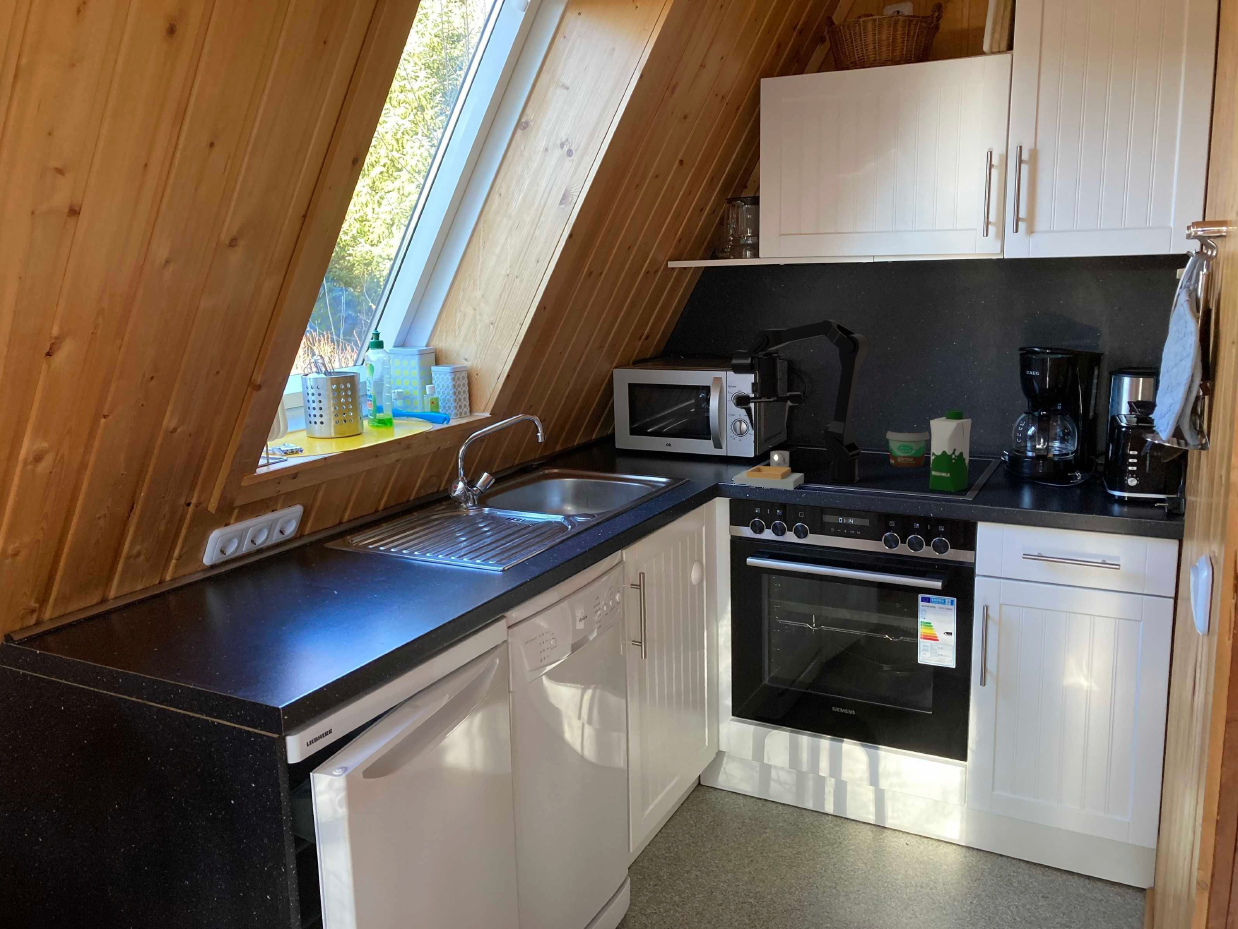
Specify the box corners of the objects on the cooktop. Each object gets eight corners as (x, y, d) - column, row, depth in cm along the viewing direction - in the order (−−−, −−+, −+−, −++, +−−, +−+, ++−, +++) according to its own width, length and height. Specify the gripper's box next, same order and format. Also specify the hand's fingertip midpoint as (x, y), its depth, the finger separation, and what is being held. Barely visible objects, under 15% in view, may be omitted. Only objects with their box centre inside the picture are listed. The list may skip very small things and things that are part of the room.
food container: (886, 467, 290) (887, 433, 289) (885, 464, 296) (886, 430, 294) (931, 468, 288) (932, 433, 286) (928, 464, 294) (929, 430, 292)
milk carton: (972, 487, 260) (975, 411, 257) (955, 493, 254) (958, 414, 250) (940, 483, 266) (943, 408, 263) (923, 489, 260) (926, 412, 256)
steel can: (791, 471, 287) (791, 451, 286) (785, 475, 283) (786, 454, 282) (773, 470, 290) (773, 450, 289) (768, 474, 285) (768, 453, 284)
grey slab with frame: (803, 482, 271) (803, 468, 271) (793, 490, 262) (793, 475, 261) (745, 478, 278) (745, 464, 278) (733, 486, 269) (733, 471, 268)
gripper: (798, 371, 288) (799, 425, 291) (733, 373, 289) (734, 427, 292) (803, 373, 277) (804, 430, 280) (735, 376, 278) (737, 432, 281)
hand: (769, 429), depth 283 cm, fingers open, 9 cm apart
